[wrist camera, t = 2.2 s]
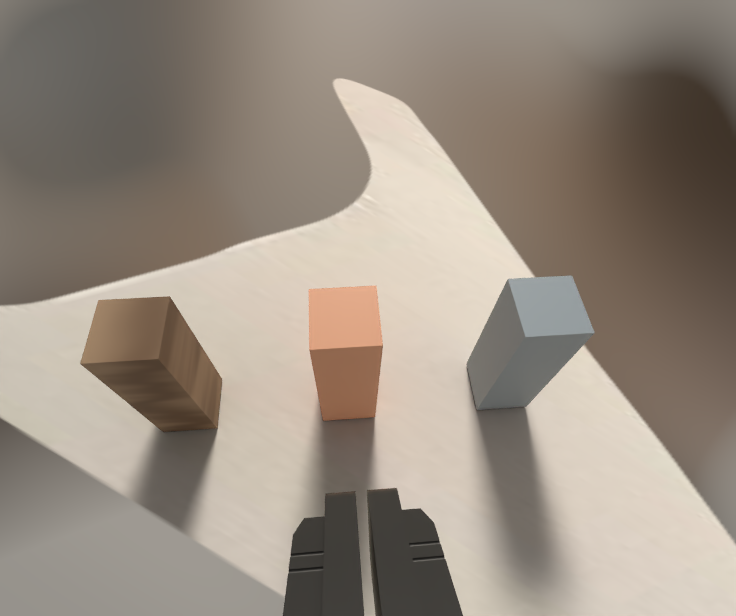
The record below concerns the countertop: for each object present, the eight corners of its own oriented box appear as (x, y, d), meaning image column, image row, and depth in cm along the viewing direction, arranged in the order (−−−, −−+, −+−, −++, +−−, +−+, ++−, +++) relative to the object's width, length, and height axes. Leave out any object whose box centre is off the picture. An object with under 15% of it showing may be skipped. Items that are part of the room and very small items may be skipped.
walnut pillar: (163, 432, 34) (80, 363, 24) (171, 382, 36) (98, 300, 26) (217, 428, 34) (158, 358, 24) (222, 379, 36) (169, 296, 26)
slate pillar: (476, 410, 35) (525, 337, 25) (466, 363, 37) (507, 278, 27) (526, 406, 35) (594, 332, 25) (513, 360, 38) (572, 275, 27)
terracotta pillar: (323, 420, 34) (309, 349, 24) (321, 372, 37) (308, 289, 26) (374, 417, 35) (382, 345, 25) (370, 369, 37) (376, 285, 27)
